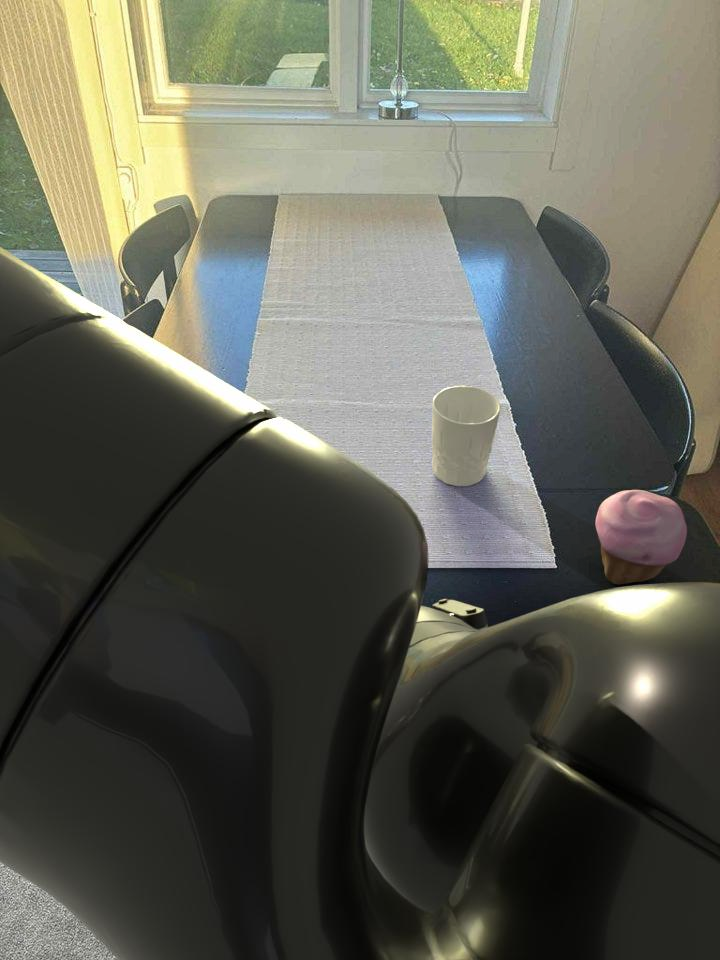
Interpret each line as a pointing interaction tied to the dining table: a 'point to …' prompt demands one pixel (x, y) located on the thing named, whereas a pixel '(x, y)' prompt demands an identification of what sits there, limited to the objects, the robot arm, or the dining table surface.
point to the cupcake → (639, 535)
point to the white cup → (463, 433)
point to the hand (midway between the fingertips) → (318, 644)
